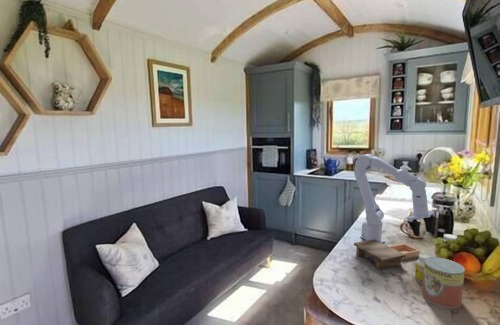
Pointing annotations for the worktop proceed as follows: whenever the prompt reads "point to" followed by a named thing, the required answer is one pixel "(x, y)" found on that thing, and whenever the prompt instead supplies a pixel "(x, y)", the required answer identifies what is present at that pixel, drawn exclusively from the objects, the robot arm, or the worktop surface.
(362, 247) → the overhang
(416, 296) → the worktop surface
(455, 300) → the canned food
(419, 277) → the supplement bottle
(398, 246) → the peach open box
